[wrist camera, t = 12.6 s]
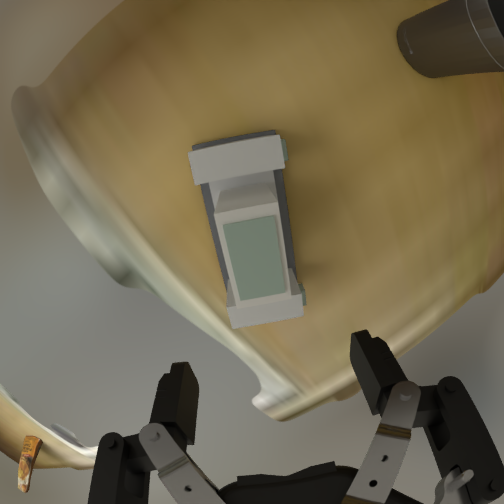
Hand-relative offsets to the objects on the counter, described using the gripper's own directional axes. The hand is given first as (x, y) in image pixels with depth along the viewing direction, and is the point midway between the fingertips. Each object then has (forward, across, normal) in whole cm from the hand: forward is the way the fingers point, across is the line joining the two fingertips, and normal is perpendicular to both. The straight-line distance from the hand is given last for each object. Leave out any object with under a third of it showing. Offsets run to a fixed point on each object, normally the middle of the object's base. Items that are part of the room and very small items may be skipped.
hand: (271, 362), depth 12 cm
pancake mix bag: (+22, +103, +69) cm, 125 cm away
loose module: (+20, 0, 0) cm, 20 cm away
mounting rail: (+22, 0, 0) cm, 22 cm away
